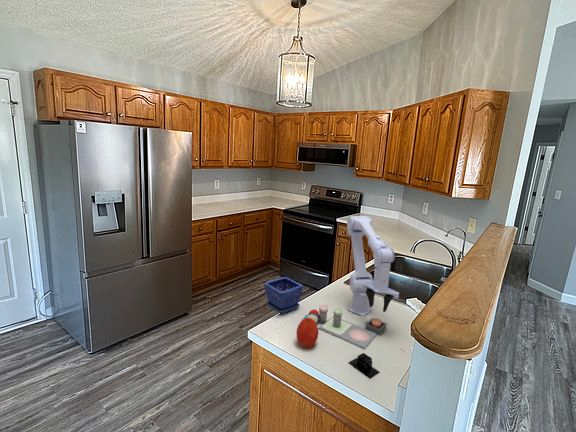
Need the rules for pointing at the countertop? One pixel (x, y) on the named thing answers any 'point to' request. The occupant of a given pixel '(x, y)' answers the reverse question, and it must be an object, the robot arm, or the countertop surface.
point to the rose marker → (322, 314)
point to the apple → (307, 332)
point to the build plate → (364, 365)
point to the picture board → (349, 333)
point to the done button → (376, 322)
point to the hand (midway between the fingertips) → (378, 308)
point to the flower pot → (283, 294)
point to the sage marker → (337, 318)
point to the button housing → (375, 329)
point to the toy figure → (313, 315)
